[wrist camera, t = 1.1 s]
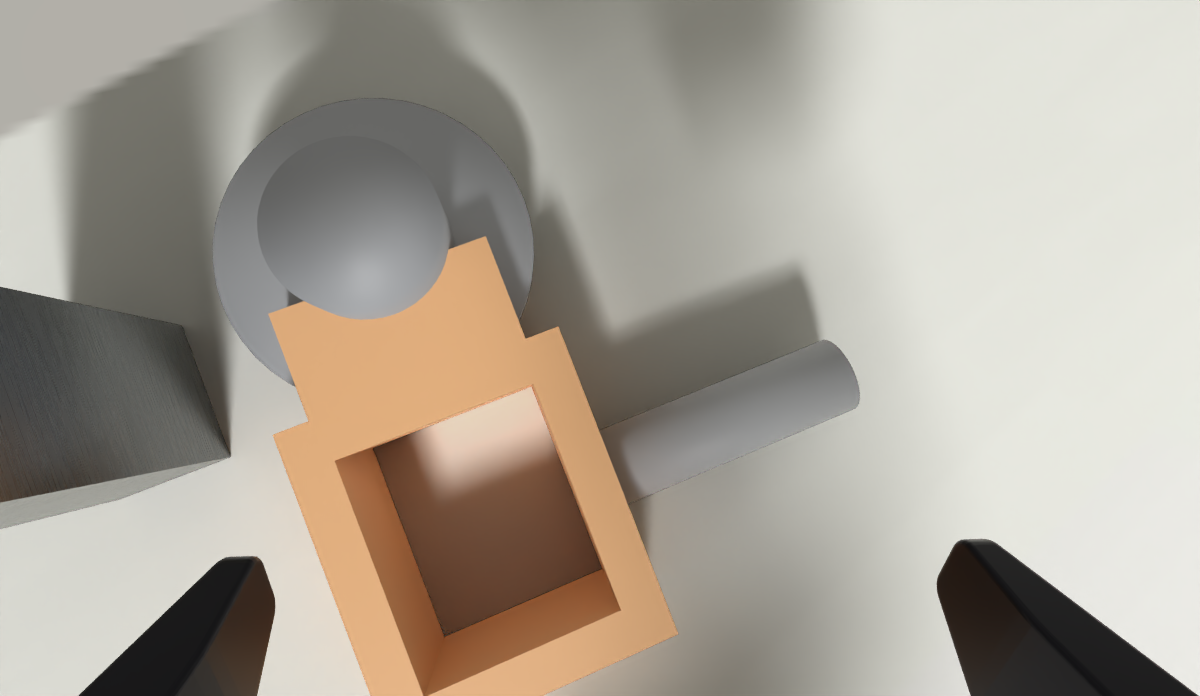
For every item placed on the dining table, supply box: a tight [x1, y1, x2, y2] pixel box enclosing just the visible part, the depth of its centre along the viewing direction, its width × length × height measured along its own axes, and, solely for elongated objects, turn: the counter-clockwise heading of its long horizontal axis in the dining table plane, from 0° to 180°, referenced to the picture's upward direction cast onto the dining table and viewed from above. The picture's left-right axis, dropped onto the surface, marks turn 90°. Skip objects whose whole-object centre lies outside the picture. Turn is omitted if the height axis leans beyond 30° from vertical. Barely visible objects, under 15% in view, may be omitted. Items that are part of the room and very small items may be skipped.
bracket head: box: [213, 98, 860, 696], centre depth 20 cm, size 17×16×6 cm
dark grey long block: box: [0, 287, 230, 529], centre depth 15 cm, size 4×4×12 cm
